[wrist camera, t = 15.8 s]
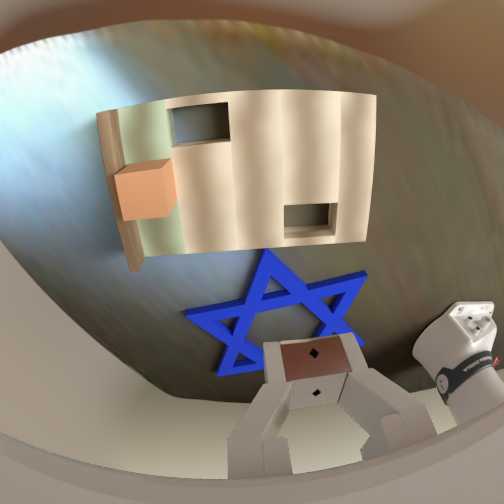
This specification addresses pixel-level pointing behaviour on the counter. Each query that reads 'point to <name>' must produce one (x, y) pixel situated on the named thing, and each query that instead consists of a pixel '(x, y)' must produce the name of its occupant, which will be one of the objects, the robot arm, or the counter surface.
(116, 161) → the board
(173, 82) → the counter surface
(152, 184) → the block
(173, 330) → the counter surface
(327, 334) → the symbol
